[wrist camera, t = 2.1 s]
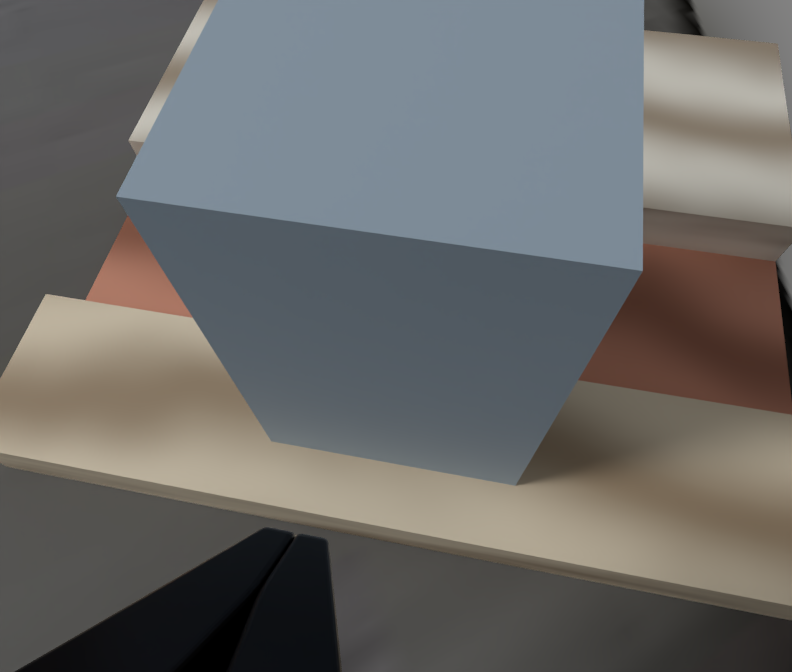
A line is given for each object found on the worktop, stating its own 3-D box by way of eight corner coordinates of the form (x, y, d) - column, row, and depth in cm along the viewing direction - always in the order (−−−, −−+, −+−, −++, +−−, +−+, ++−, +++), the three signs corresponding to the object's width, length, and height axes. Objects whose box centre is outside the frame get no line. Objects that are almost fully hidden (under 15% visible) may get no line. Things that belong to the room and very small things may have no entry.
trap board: (812, 624, 19) (863, 619, 17) (8, 466, 22) (-36, 445, 20) (751, 87, 31) (777, 43, 29) (224, 30, 34) (210, -14, 32)
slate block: (515, 485, 19) (643, 271, 9) (271, 441, 20) (115, 196, 10) (536, 276, 23) (644, -55, 12) (329, 246, 24) (263, -88, 13)
